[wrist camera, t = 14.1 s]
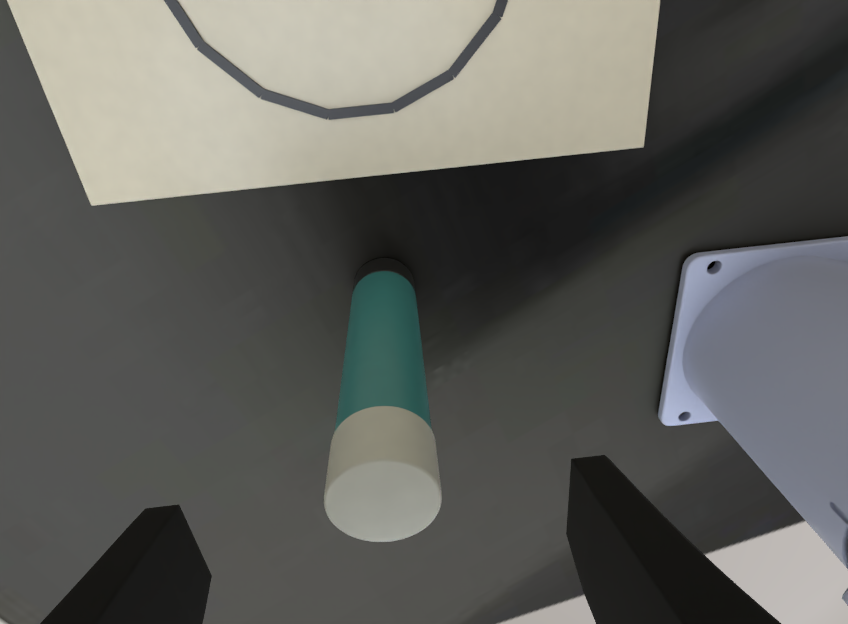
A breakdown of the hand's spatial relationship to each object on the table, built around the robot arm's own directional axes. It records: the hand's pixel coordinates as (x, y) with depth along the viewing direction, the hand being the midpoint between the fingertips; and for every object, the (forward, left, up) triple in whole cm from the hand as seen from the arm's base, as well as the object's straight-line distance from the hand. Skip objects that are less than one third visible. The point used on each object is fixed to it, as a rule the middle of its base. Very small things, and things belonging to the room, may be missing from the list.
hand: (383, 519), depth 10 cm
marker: (0, 0, -10) cm, 10 cm away
